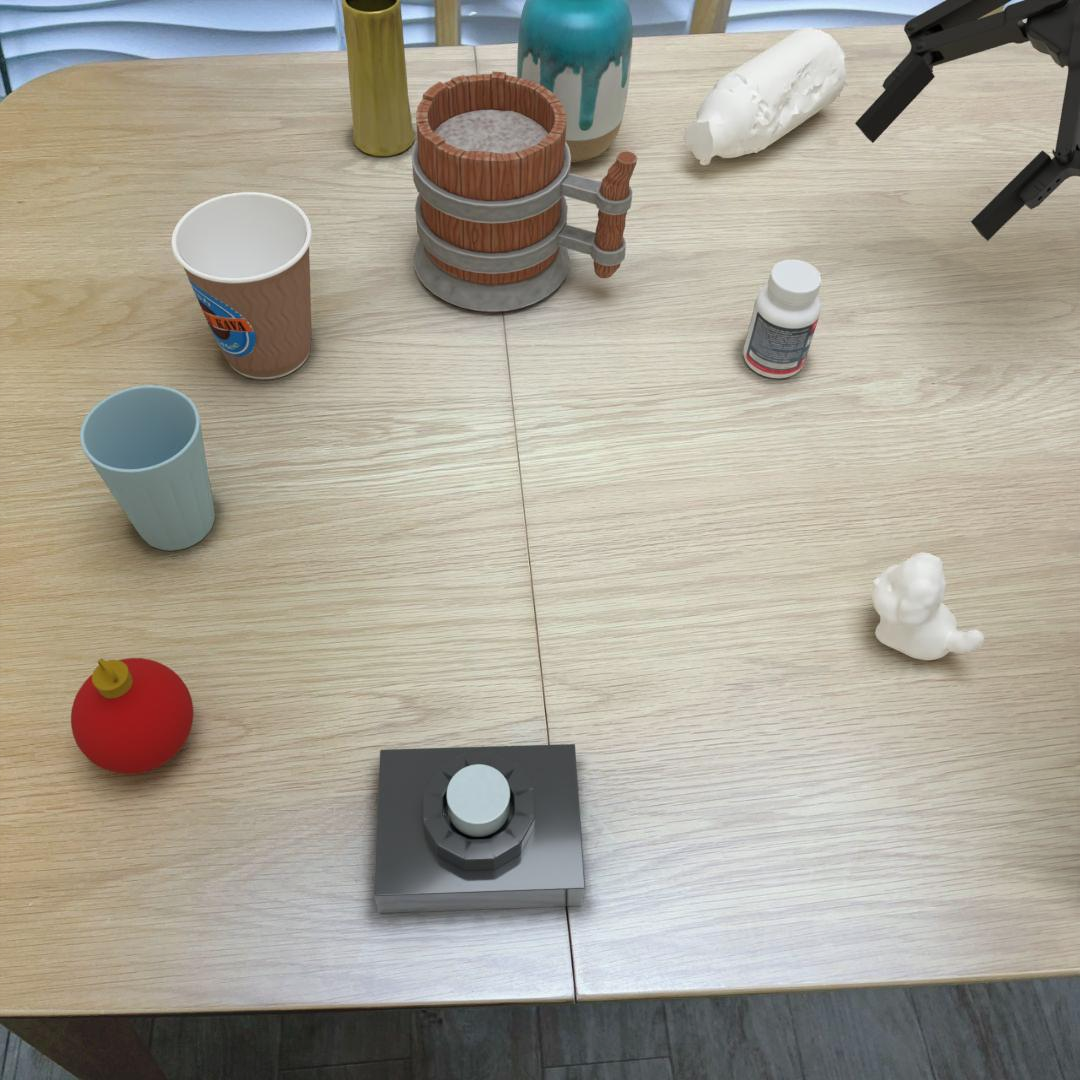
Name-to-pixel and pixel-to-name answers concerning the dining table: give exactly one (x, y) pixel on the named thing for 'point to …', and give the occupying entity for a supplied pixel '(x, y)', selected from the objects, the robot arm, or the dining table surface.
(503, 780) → the grey short cylinder
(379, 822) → the push button box
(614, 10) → the vase
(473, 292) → the mug
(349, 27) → the vase
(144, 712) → the christmas ornament
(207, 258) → the coffee cup
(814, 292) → the pill bottle
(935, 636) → the figurine
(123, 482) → the cup
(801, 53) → the white bottle
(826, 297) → the dining table surface
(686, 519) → the dining table surface
